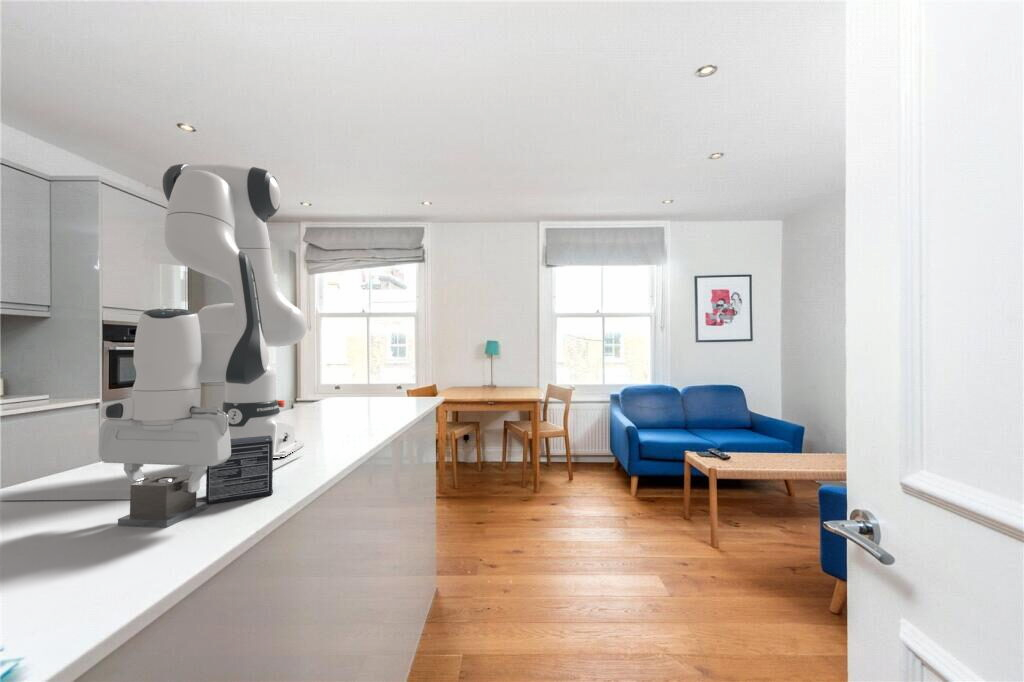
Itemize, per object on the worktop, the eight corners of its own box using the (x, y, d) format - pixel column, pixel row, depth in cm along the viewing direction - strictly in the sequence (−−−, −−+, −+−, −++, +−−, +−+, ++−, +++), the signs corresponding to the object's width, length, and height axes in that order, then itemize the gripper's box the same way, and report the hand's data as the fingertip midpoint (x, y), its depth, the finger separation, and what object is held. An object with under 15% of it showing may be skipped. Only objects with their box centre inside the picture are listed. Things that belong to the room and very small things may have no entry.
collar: (162, 503, 74) (163, 473, 74) (196, 504, 73) (197, 474, 74) (129, 516, 68) (130, 484, 68) (165, 518, 67) (166, 486, 68)
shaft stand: (162, 506, 75) (163, 472, 75) (206, 508, 74) (207, 473, 75) (117, 525, 67) (118, 486, 67) (166, 527, 66) (167, 488, 67)
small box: (270, 486, 87) (272, 433, 87) (273, 495, 81) (274, 439, 82) (206, 495, 81) (208, 439, 81) (204, 505, 76) (206, 446, 76)
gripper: (241, 405, 74) (239, 486, 73) (128, 402, 75) (126, 482, 75) (213, 410, 67) (211, 499, 67) (90, 407, 69) (87, 495, 68)
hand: (165, 490), depth 71 cm, fingers open, 8 cm apart
